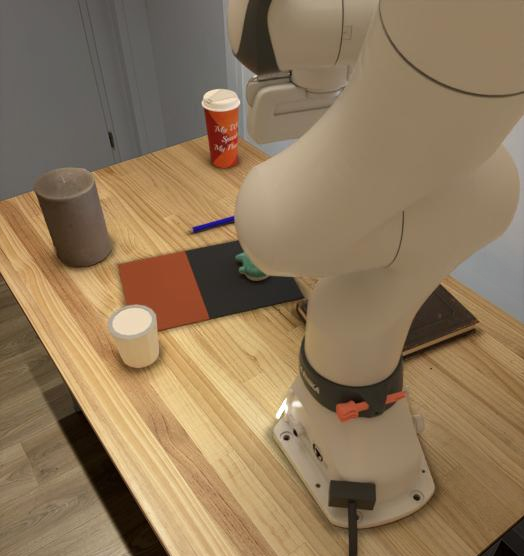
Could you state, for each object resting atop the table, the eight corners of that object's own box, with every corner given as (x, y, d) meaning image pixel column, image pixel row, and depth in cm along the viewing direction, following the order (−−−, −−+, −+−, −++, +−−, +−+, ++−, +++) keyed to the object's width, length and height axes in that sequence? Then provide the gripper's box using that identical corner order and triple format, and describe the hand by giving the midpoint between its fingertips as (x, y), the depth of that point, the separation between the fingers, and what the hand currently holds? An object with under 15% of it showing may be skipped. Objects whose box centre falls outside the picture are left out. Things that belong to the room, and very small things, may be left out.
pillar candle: (46, 260, 97) (17, 185, 86) (77, 229, 103) (54, 155, 92) (93, 273, 95) (70, 197, 84) (122, 240, 101) (104, 165, 90)
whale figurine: (250, 288, 92) (250, 271, 89) (227, 265, 96) (226, 247, 93) (279, 275, 94) (279, 258, 91) (255, 253, 98) (255, 235, 95)
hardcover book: (475, 331, 85) (479, 320, 84) (347, 381, 79) (349, 371, 77) (414, 271, 95) (416, 260, 93) (295, 311, 89) (296, 301, 87)
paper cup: (222, 174, 116) (217, 108, 106) (199, 160, 120) (193, 95, 109) (249, 161, 120) (248, 96, 109) (227, 148, 123) (223, 84, 113)
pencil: (268, 209, 107) (268, 204, 107) (270, 211, 107) (270, 207, 106) (186, 232, 102) (186, 227, 102) (188, 234, 102) (187, 230, 101)
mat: (304, 297, 91) (304, 297, 91) (134, 336, 85) (133, 335, 85) (269, 234, 102) (269, 233, 102) (117, 265, 97) (117, 264, 96)
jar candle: (122, 376, 80) (112, 344, 75) (113, 344, 84) (102, 311, 79) (168, 363, 81) (162, 330, 76) (156, 332, 86) (149, 298, 80)
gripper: (253, 83, 69) (254, 182, 79) (401, 62, 73) (384, 159, 83) (238, 63, 73) (242, 160, 83) (380, 45, 77) (366, 139, 87)
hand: (314, 160), depth 83 cm, fingers closed
